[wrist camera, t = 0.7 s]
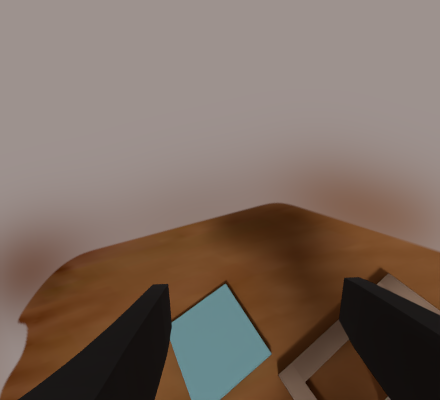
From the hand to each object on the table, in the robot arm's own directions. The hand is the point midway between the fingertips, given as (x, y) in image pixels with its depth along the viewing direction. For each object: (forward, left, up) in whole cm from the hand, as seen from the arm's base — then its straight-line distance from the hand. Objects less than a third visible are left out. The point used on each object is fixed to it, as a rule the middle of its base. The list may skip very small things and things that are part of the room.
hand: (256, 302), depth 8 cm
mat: (+4, +4, -16) cm, 17 cm away
